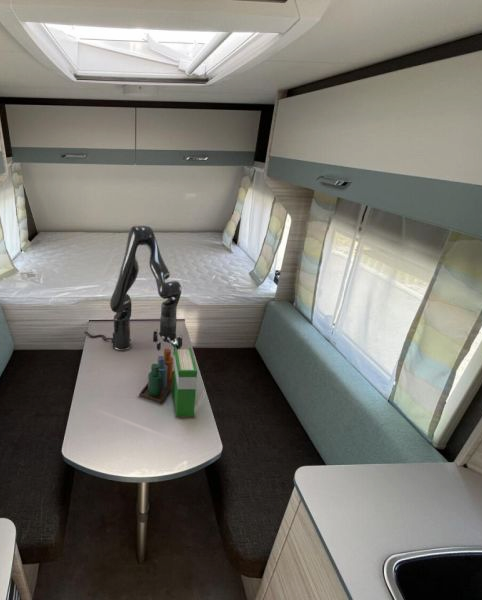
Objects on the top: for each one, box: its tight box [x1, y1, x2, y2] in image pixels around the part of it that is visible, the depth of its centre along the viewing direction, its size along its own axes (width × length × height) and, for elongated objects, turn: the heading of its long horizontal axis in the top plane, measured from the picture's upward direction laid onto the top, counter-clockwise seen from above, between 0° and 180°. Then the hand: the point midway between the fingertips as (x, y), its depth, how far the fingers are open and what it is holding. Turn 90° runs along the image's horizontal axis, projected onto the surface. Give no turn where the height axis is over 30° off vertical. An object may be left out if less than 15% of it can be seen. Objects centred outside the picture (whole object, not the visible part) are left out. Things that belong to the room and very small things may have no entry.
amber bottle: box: [163, 348, 174, 381], centre depth 161 cm, size 6×6×16 cm
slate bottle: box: [157, 355, 167, 390], centre depth 155 cm, size 6×6×16 cm
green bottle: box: [147, 363, 161, 398], centre depth 150 cm, size 6×6×16 cm
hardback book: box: [172, 347, 198, 418], centre depth 143 cm, size 18×7×24 cm, turn 1°
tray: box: [138, 370, 174, 405], centre depth 158 cm, size 11×23×2 cm, turn 153°
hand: (167, 352), depth 158 cm, fingers open, 8 cm apart
